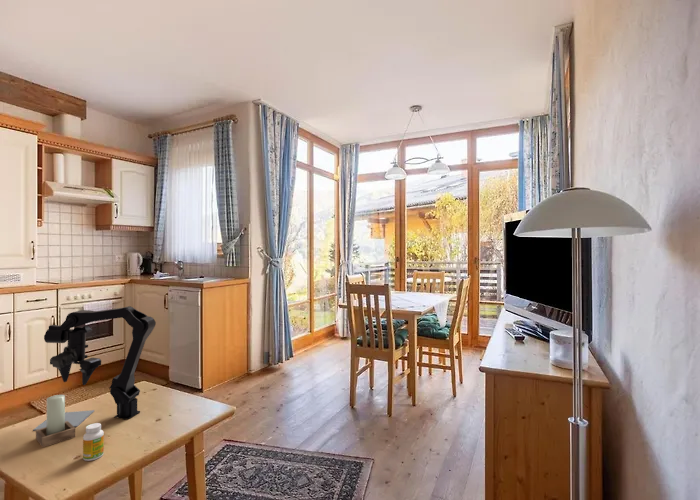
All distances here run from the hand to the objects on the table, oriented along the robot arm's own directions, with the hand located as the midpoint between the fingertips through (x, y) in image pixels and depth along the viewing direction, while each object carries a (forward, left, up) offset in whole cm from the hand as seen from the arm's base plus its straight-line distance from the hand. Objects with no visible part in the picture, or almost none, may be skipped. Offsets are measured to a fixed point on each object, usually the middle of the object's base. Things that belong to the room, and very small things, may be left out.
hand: (74, 383), depth 146 cm
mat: (+1, +3, -13) cm, 14 cm away
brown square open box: (-8, +15, -13) cm, 21 cm away
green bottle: (-8, +15, -13) cm, 22 cm away
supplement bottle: (-31, +23, -13) cm, 41 cm away
